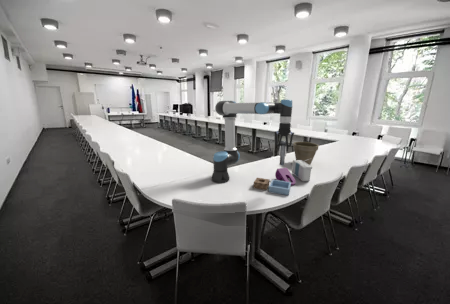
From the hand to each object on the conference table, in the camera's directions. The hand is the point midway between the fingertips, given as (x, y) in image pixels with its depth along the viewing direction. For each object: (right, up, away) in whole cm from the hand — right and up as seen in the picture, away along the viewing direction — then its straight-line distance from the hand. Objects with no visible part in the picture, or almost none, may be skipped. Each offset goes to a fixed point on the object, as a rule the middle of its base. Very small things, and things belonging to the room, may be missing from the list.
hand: (282, 155), depth 142 cm
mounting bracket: (+9, -23, +23) cm, 33 cm away
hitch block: (-13, -25, +12) cm, 30 cm away
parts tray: (0, -26, +7) cm, 27 cm away
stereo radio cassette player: (+25, -20, +32) cm, 45 cm away
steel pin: (0, -7, +2) cm, 7 cm away
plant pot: (+44, -10, +73) cm, 86 cm away
